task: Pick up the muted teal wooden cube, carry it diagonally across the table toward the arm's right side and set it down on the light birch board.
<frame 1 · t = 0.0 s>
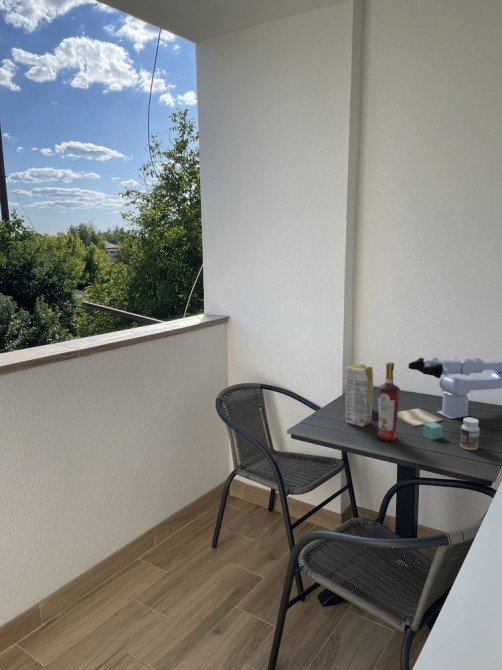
hand: (415, 368, 181), 22 cm above the table, tool horizontal, fingers open, 7 cm apart
small box: (360, 410, 200), on the table
juice carton: (358, 423, 186), on the table
pill bottle: (468, 447, 162), on the table
birch board: (416, 417, 190), on the table
liquor: (387, 439, 171), on the table
teal cube: (432, 436, 172), on the table
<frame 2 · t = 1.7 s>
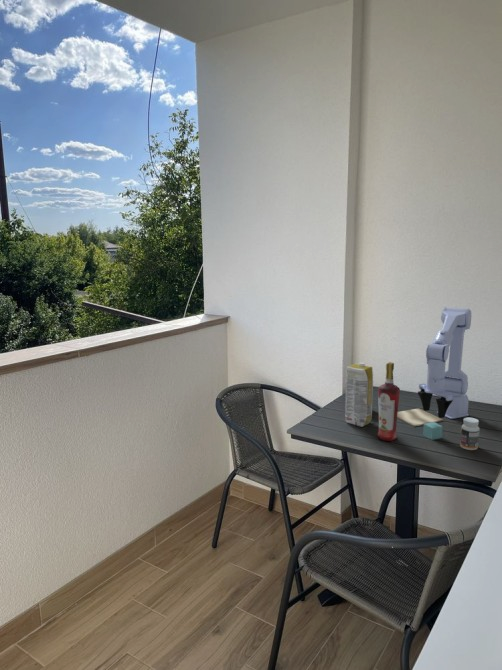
hand: (433, 413, 170), 9 cm above the table, tool pointing down, fingers open, 7 cm apart
nothing on the table moved.
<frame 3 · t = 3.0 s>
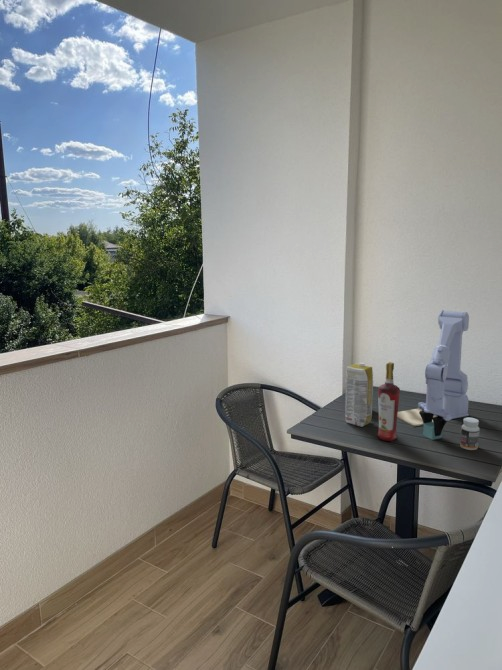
hand: (432, 432, 171), 1 cm above the table, tool pointing down, fingers closed on teal cube, 4 cm apart
teal cube: (432, 436, 172), on the table, touching gripper
everything else where it was.
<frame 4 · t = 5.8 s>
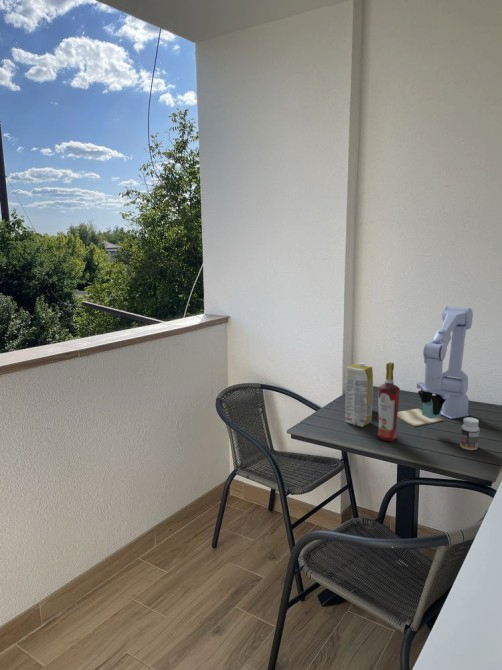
hand: (431, 412, 173), 8 cm above the table, tool pointing down, fingers closed on teal cube, 4 cm apart
teal cube: (431, 415, 173), point 7 cm above the table, touching gripper
everything else where it was.
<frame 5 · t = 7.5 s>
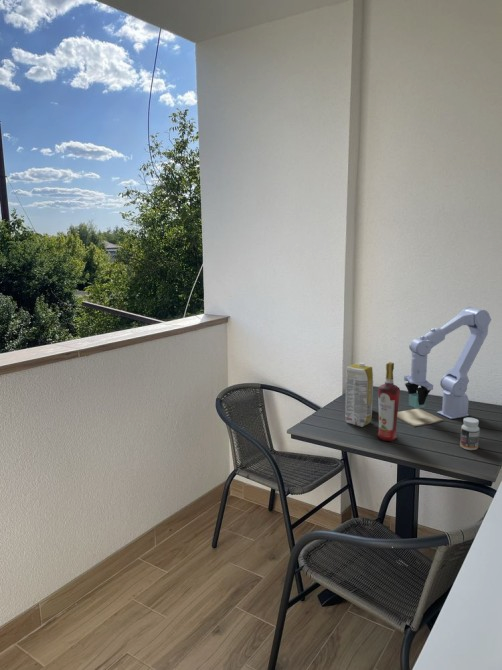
hand: (417, 402, 188), 6 cm above the table, tool pointing down, fingers closed on teal cube, 4 cm apart
teal cube: (416, 405, 189), point 5 cm above the table, touching gripper
everything else where it was.
when the fingers open (4 cm above the table, at t = 8.9 s): teal cube drops 2 cm, resting on birch board.
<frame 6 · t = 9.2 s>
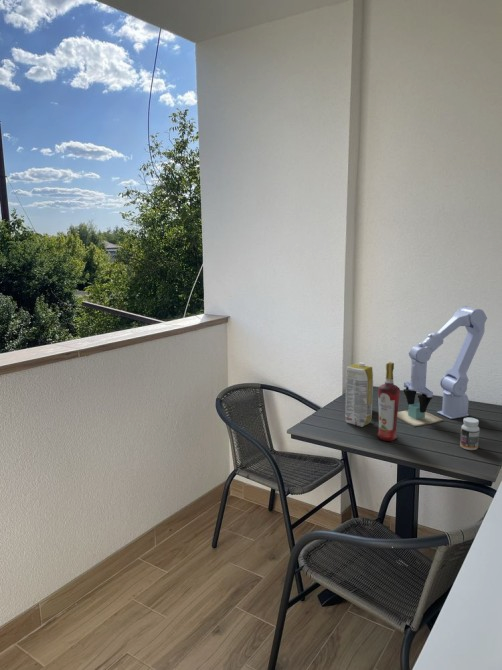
hand: (416, 409, 189), 4 cm above the table, tool pointing down, fingers open, 6 cm apart
teal cube: (416, 416, 189), point 1 cm above the table, touching birch board
everything else where it was.
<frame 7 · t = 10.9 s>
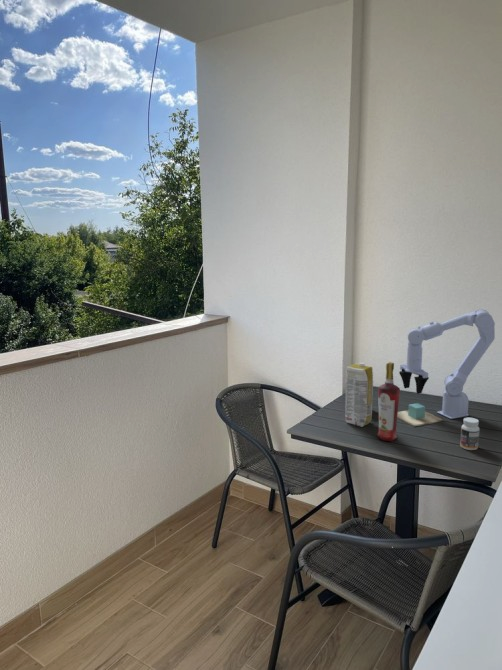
hand: (412, 390, 195), 9 cm above the table, tool pointing down, fingers open, 7 cm apart
nothing on the table moved.
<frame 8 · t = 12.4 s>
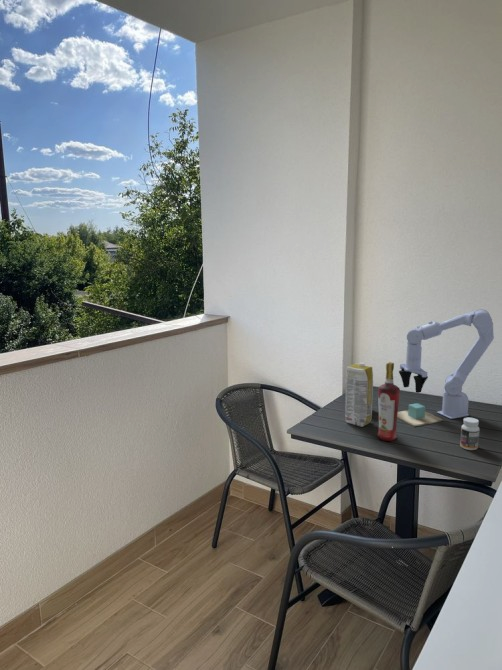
hand: (412, 389, 197), 9 cm above the table, tool pointing down, fingers open, 7 cm apart
nothing on the table moved.
at the end: teal cube inside the target area on the birch board (0.0 cm from its centre), point 0.6 cm above the birch board's base; teal cube tilted 0°; the gripper is holding nothing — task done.
